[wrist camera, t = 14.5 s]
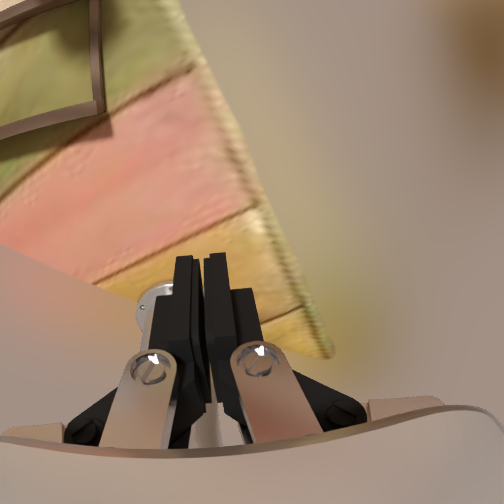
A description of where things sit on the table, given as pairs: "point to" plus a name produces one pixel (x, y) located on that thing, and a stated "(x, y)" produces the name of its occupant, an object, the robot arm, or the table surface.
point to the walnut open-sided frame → (38, 3)
